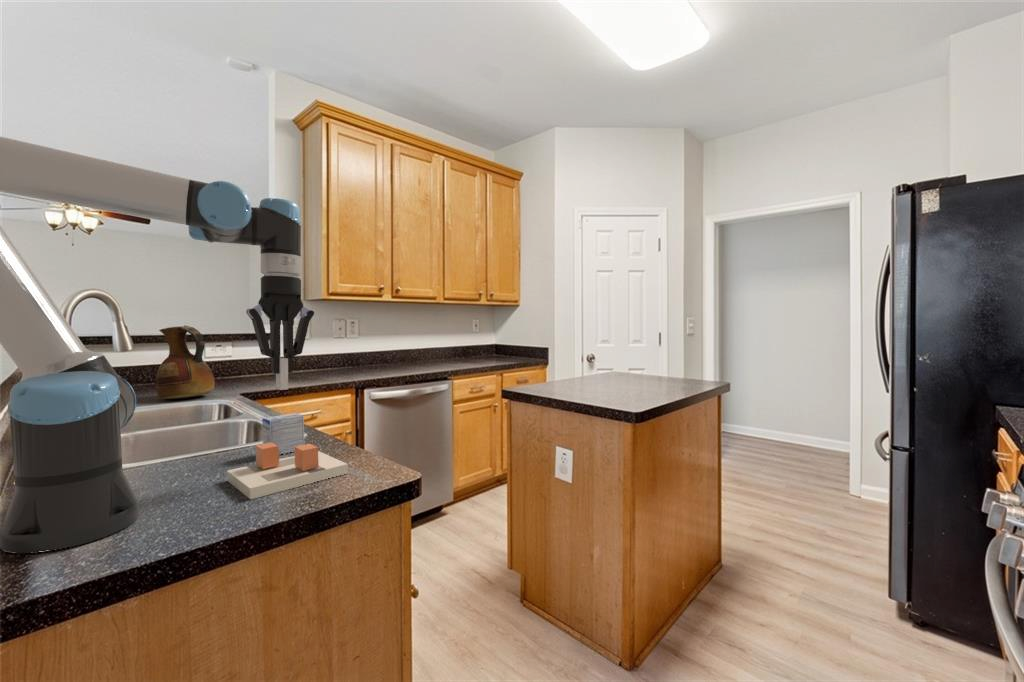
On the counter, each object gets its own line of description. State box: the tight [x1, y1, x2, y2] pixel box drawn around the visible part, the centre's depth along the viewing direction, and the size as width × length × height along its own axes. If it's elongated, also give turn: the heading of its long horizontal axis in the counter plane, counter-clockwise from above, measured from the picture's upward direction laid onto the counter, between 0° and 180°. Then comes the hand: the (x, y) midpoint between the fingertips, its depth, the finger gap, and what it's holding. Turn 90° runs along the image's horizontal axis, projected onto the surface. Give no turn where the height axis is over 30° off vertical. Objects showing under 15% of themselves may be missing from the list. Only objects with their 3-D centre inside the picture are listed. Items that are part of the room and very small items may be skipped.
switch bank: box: [226, 450, 349, 500], centre depth 91 cm, size 18×14×2 cm
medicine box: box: [261, 412, 305, 456], centre depth 109 cm, size 8×4×9 cm, turn 141°
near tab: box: [293, 443, 319, 471], centre depth 90 cm, size 3×4×4 cm
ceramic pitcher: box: [155, 325, 216, 400], centre depth 187 cm, size 20×20×30 cm
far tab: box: [255, 442, 280, 469], centre depth 92 cm, size 3×4×4 cm
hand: (282, 388), depth 96 cm, fingers closed
